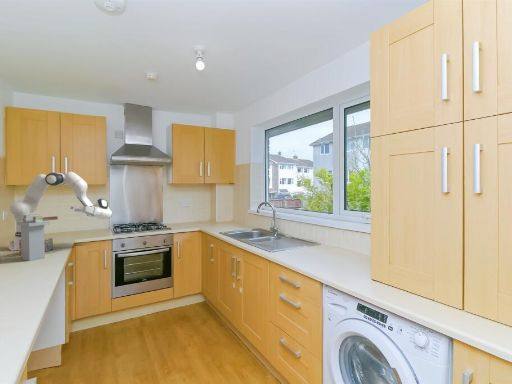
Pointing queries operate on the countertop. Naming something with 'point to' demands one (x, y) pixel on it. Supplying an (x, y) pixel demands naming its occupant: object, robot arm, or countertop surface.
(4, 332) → the countertop surface
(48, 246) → the stack of blocks
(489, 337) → the countertop surface
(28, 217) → the steel-headed mallet
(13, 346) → the countertop surface
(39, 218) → the sage cube
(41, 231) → the grey pedestal
